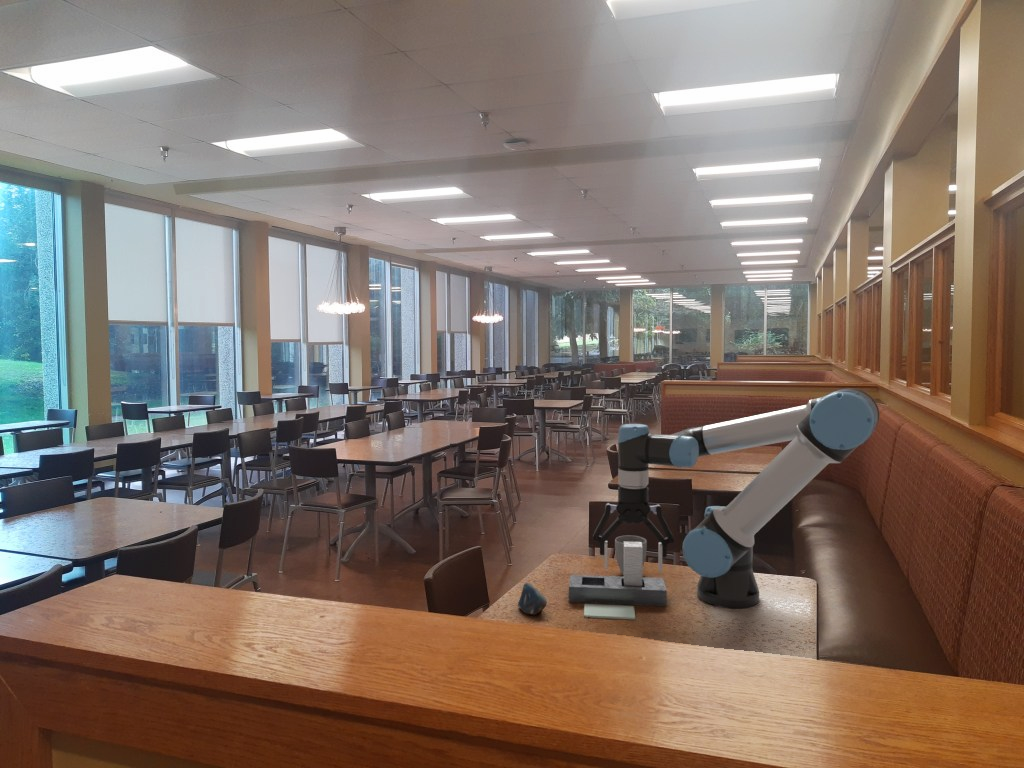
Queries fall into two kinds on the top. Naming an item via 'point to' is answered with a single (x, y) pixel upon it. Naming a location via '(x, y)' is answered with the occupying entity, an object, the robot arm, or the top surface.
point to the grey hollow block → (616, 591)
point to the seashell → (531, 600)
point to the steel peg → (633, 564)
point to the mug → (620, 549)
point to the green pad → (609, 611)
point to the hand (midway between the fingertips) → (632, 568)
